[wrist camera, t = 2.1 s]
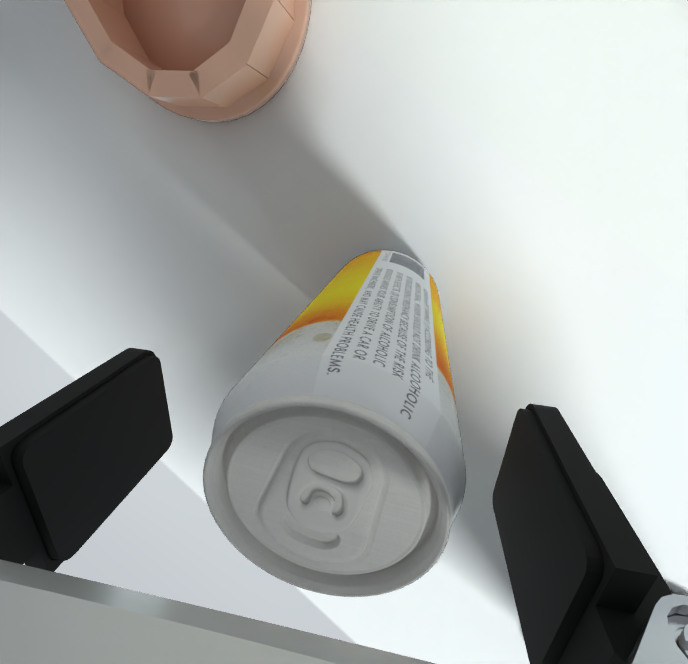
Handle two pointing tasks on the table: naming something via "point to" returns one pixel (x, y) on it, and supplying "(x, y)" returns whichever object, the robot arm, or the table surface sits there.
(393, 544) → the beer can
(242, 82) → the jar base
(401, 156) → the table surface
